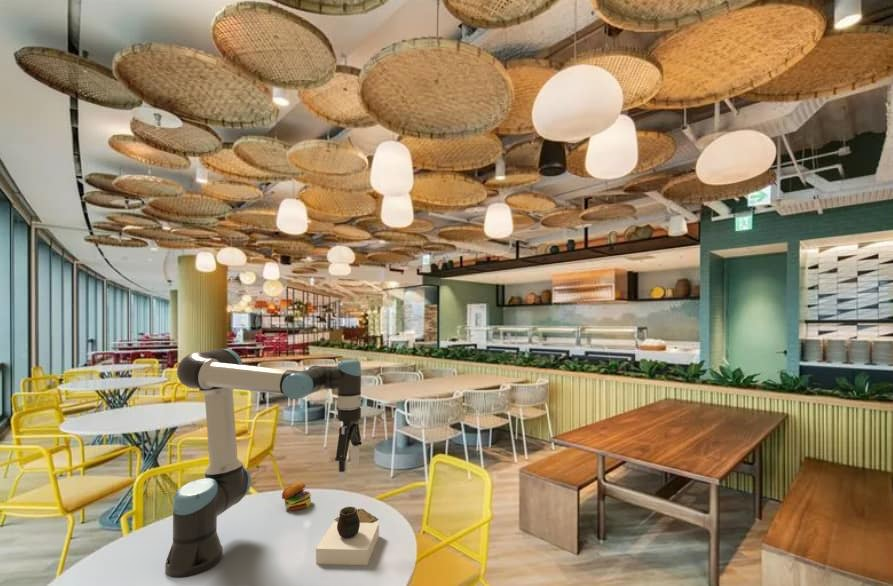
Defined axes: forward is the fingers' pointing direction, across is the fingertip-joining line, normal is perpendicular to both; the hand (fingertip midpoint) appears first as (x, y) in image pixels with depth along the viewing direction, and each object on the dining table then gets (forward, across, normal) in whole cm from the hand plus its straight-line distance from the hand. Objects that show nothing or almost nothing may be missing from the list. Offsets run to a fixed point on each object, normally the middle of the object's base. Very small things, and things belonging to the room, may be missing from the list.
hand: (349, 472), depth 135 cm
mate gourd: (+20, 0, 0) cm, 20 cm away
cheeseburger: (+25, +29, +30) cm, 48 cm away
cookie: (+25, +19, +3) cm, 32 cm away
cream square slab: (+25, 0, 0) cm, 25 cm away
